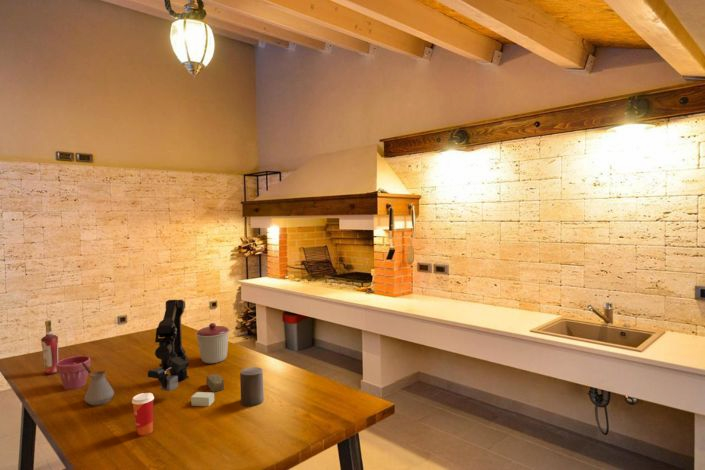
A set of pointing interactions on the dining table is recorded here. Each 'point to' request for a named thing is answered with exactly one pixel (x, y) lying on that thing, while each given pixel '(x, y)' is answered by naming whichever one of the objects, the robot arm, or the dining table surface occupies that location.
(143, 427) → the paper cup
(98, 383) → the coffee pot
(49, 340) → the liquor
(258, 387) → the pillar candle
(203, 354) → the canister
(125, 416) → the dining table surface
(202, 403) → the beige brick
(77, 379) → the plant pot
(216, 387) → the stone block
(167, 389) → the gray cube
